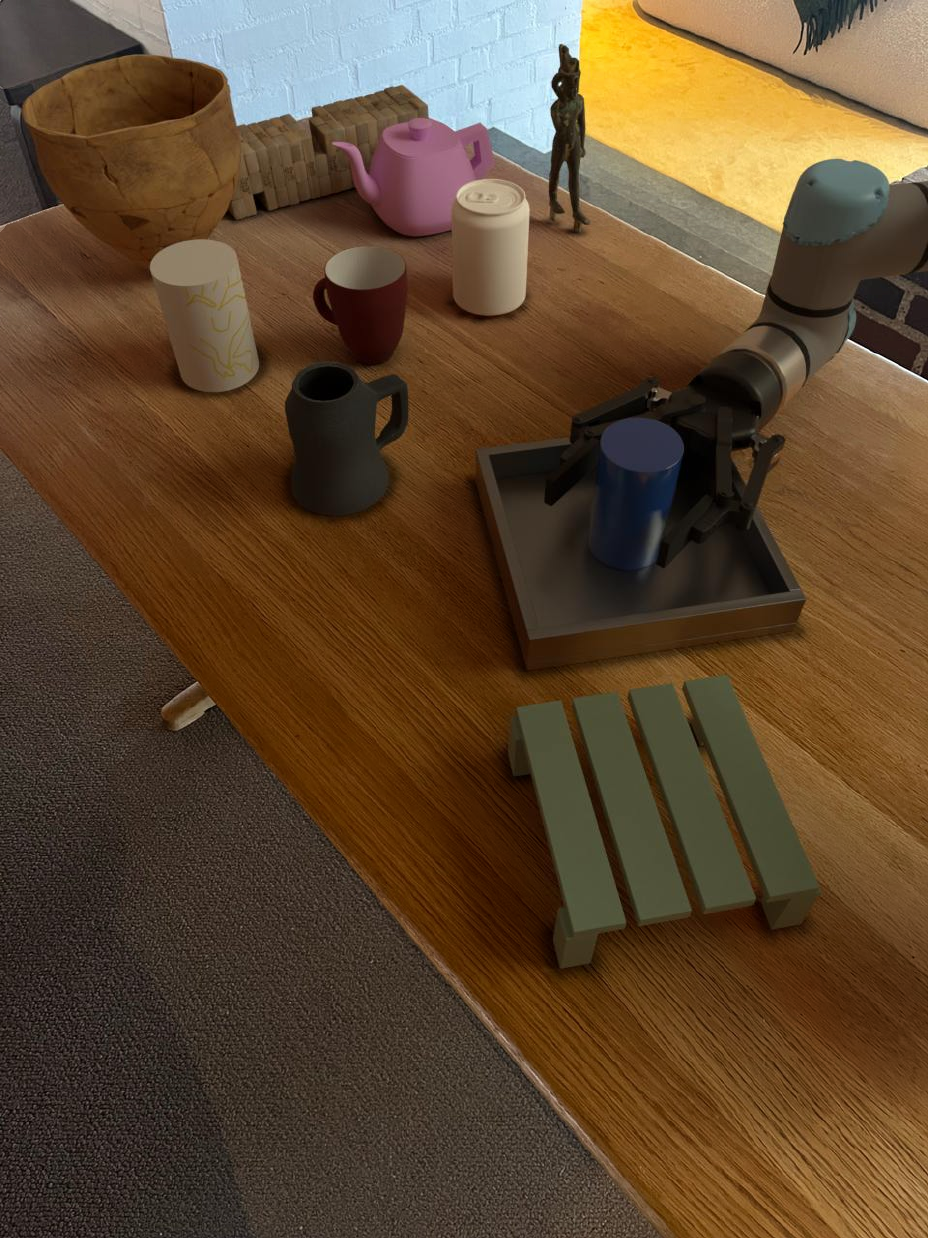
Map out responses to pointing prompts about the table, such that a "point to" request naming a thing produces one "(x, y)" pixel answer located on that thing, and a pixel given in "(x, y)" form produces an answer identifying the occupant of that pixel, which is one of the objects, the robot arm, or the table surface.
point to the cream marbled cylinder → (206, 314)
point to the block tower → (315, 149)
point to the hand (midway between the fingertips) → (603, 522)
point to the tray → (624, 599)
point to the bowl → (139, 149)
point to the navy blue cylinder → (633, 492)
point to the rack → (635, 818)
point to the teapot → (419, 173)
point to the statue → (567, 135)
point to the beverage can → (490, 246)
